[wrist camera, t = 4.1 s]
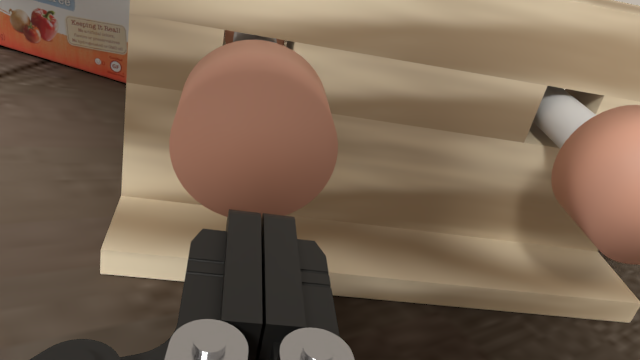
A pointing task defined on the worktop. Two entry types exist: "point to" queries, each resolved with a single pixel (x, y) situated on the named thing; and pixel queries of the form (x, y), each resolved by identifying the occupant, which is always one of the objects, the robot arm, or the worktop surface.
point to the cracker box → (70, 32)
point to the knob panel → (400, 144)
